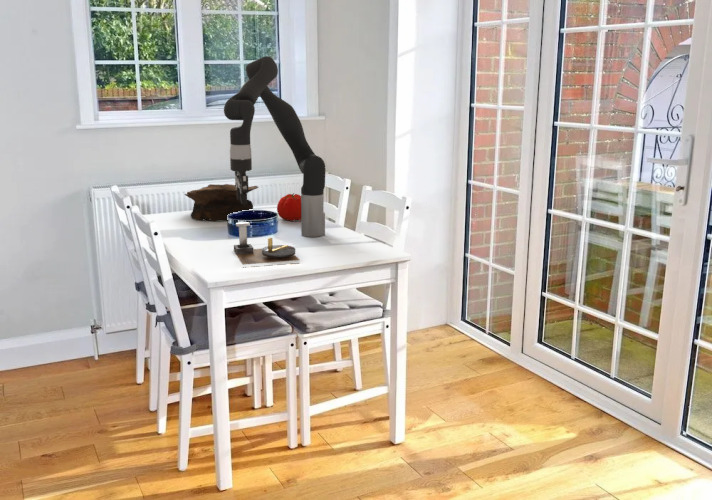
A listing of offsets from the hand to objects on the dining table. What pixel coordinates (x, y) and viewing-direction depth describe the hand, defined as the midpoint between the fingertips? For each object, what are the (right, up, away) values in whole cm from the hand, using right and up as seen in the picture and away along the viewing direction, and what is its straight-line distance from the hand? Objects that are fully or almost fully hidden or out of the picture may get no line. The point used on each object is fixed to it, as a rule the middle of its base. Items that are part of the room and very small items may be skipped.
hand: (242, 201), depth 256 cm
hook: (0, -18, +5) cm, 19 cm away
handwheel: (+13, -19, -1) cm, 23 cm away
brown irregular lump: (-21, -1, +76) cm, 79 cm away
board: (+9, -20, +1) cm, 22 cm away
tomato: (+12, -4, +66) cm, 68 cm away
